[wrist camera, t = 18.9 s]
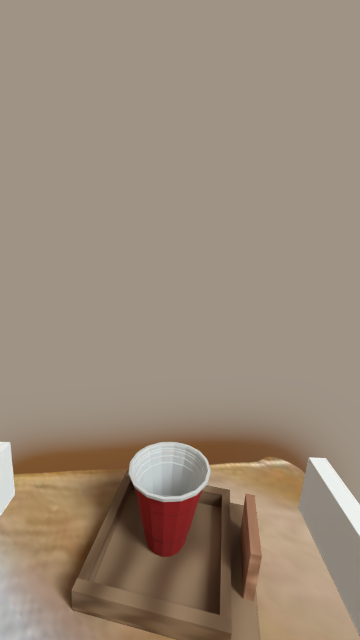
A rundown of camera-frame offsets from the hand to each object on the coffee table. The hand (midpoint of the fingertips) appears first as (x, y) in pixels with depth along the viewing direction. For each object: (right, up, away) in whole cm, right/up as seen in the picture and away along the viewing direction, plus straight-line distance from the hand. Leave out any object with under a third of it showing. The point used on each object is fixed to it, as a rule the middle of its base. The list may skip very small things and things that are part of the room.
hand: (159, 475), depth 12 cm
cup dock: (0, -25, +25) cm, 35 cm away
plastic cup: (-1, -24, +27) cm, 36 cm away
